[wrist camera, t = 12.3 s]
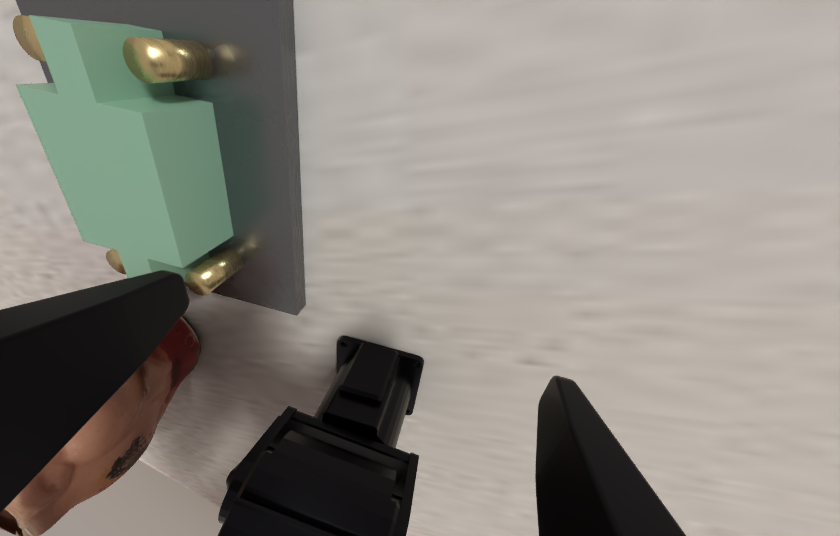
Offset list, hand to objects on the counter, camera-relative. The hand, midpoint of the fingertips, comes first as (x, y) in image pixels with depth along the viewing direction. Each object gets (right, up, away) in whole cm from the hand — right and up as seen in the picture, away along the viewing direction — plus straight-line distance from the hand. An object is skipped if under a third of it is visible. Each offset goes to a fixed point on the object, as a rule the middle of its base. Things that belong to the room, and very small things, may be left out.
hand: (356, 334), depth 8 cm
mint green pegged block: (-12, +7, +12) cm, 19 cm away
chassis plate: (-12, +8, +13) cm, 19 cm away
